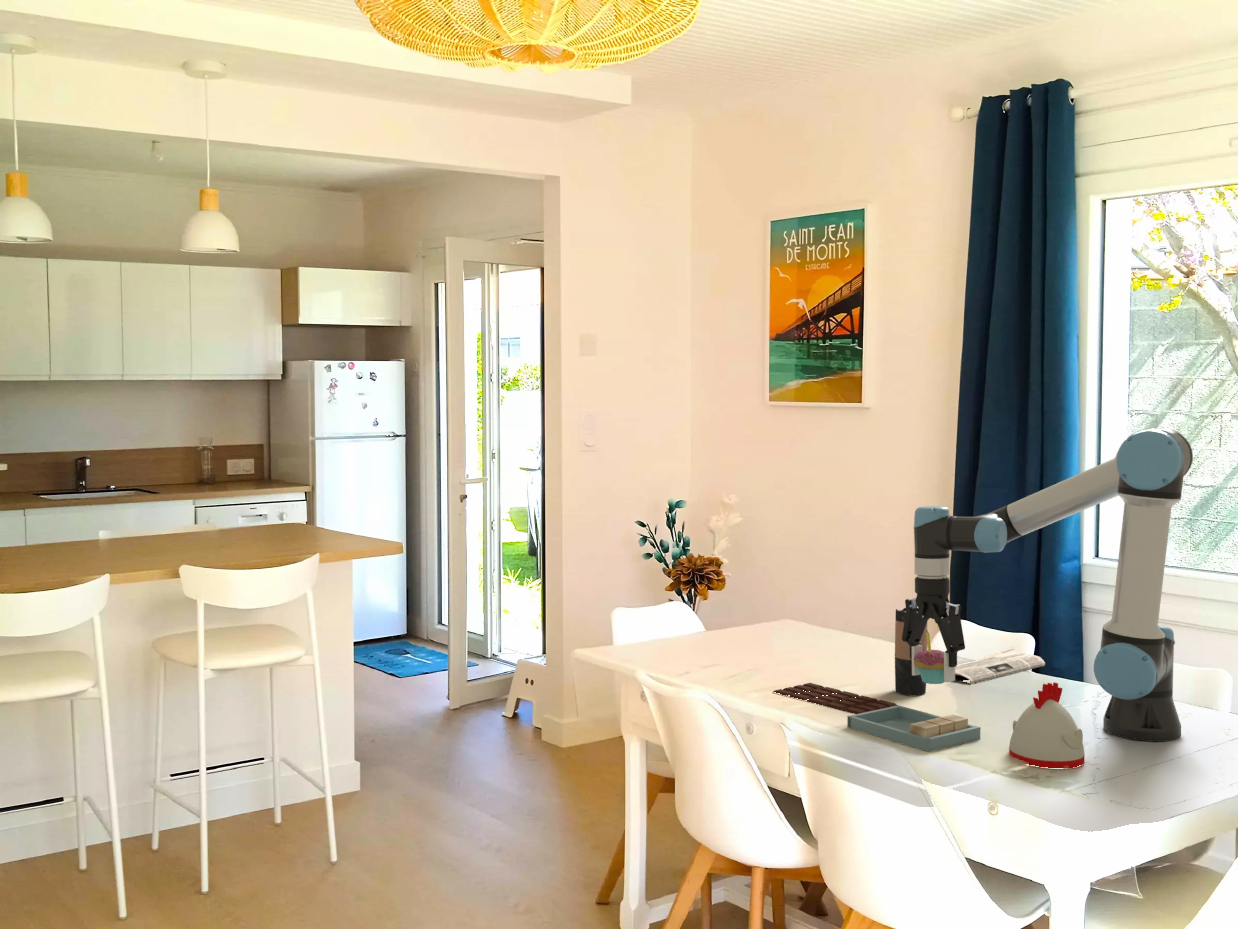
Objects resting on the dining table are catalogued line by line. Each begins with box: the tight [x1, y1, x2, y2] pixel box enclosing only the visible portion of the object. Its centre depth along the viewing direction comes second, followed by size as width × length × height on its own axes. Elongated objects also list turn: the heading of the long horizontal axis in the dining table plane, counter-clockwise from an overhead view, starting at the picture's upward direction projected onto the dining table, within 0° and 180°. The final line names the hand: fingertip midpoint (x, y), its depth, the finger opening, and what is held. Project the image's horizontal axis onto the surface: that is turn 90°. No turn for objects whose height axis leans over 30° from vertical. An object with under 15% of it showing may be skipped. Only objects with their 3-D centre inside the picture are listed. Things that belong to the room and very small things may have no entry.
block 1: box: [910, 721, 939, 738], centre depth 241 cm, size 4×4×4 cm
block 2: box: [925, 718, 954, 735], centre depth 243 cm, size 4×4×4 cm
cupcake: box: [914, 629, 945, 685], centre depth 263 cm, size 9×8×12 cm
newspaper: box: [955, 647, 1046, 685], centre depth 311 cm, size 35×12×4 cm, turn 129°
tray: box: [846, 704, 981, 753], centre depth 249 cm, size 22×16×3 cm
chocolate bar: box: [772, 682, 898, 715], centre depth 281 cm, size 27×14×1 cm, turn 39°
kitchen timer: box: [1008, 682, 1086, 769], centre depth 233 cm, size 14×14×15 cm
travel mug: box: [894, 607, 928, 697], centre depth 287 cm, size 8×8×20 cm
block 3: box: [940, 714, 969, 732], centre depth 246 cm, size 4×4×4 cm
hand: (933, 677), depth 264 cm, fingers closed on cupcake, 8 cm apart
